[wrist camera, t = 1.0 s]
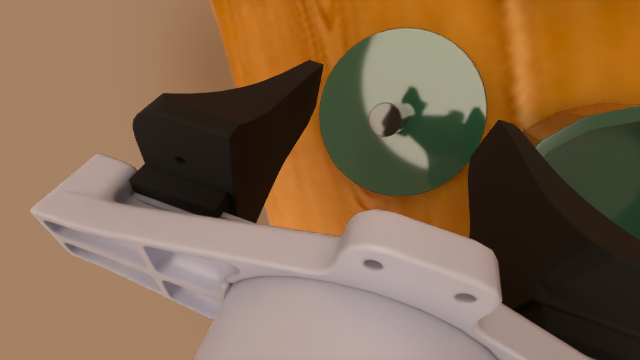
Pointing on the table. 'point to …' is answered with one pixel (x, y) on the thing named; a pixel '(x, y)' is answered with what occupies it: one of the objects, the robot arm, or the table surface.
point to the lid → (403, 111)
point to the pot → (596, 157)
